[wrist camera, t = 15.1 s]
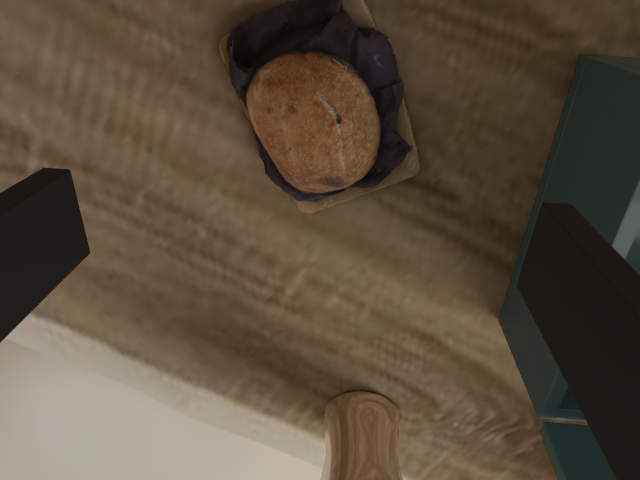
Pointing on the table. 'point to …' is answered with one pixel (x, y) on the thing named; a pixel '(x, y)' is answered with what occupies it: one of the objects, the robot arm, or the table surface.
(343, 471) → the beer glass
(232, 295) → the table surface
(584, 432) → the bread box lid
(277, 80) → the bread roll
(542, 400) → the bread box
